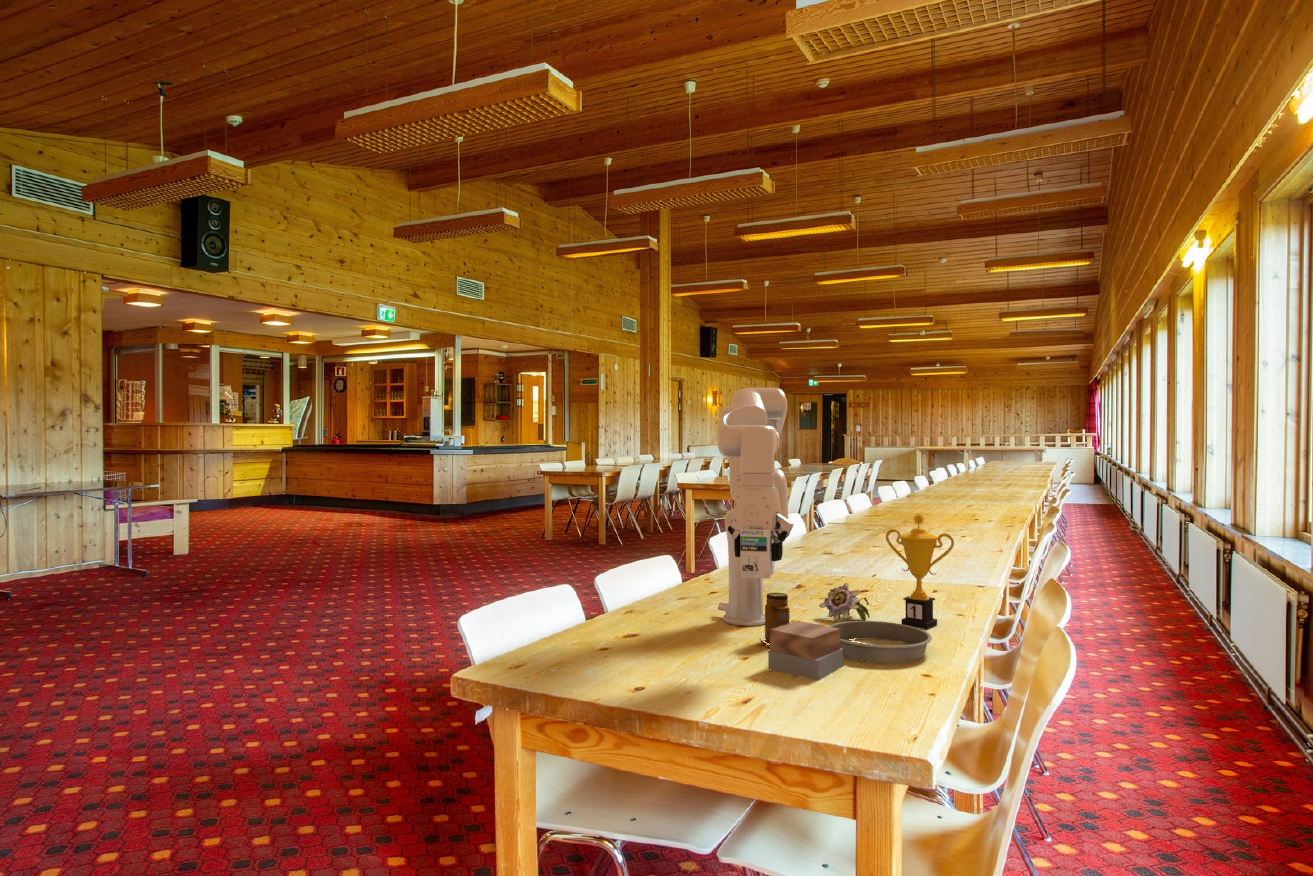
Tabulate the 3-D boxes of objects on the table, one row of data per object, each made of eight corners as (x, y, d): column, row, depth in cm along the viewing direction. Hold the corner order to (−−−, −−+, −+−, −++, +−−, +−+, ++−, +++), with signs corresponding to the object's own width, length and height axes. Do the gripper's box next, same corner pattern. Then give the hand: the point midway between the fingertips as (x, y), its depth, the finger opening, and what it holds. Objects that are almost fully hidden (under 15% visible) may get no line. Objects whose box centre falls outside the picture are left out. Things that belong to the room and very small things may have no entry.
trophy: (877, 622, 205) (877, 513, 206) (894, 616, 212) (893, 510, 212) (946, 634, 192) (945, 518, 192) (962, 627, 199) (961, 515, 199)
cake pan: (955, 661, 170) (955, 641, 170) (860, 670, 163) (860, 650, 163) (891, 634, 194) (891, 617, 194) (806, 642, 187) (806, 624, 187)
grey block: (768, 671, 164) (768, 651, 164) (794, 659, 173) (794, 639, 173) (818, 682, 156) (818, 661, 156) (843, 668, 165) (843, 648, 165)
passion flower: (837, 640, 207) (811, 604, 210) (850, 625, 216) (825, 590, 218) (868, 623, 201) (841, 585, 203) (880, 607, 210) (854, 572, 212)
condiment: (788, 638, 189) (788, 591, 189) (795, 648, 181) (795, 598, 181) (759, 639, 189) (759, 591, 189) (765, 648, 180) (765, 598, 180)
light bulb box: (770, 579, 160) (770, 529, 160) (739, 578, 161) (739, 528, 161) (775, 570, 170) (774, 523, 170) (745, 569, 172) (745, 522, 172)
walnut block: (769, 649, 165) (769, 629, 165) (798, 640, 172) (798, 620, 172) (812, 659, 157) (812, 638, 157) (840, 649, 165) (840, 628, 165)
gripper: (715, 480, 168) (716, 556, 168) (783, 483, 157) (783, 564, 157) (734, 479, 174) (734, 552, 174) (800, 481, 163) (801, 560, 163)
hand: (758, 558), depth 166 cm, fingers closed on light bulb box, 9 cm apart
